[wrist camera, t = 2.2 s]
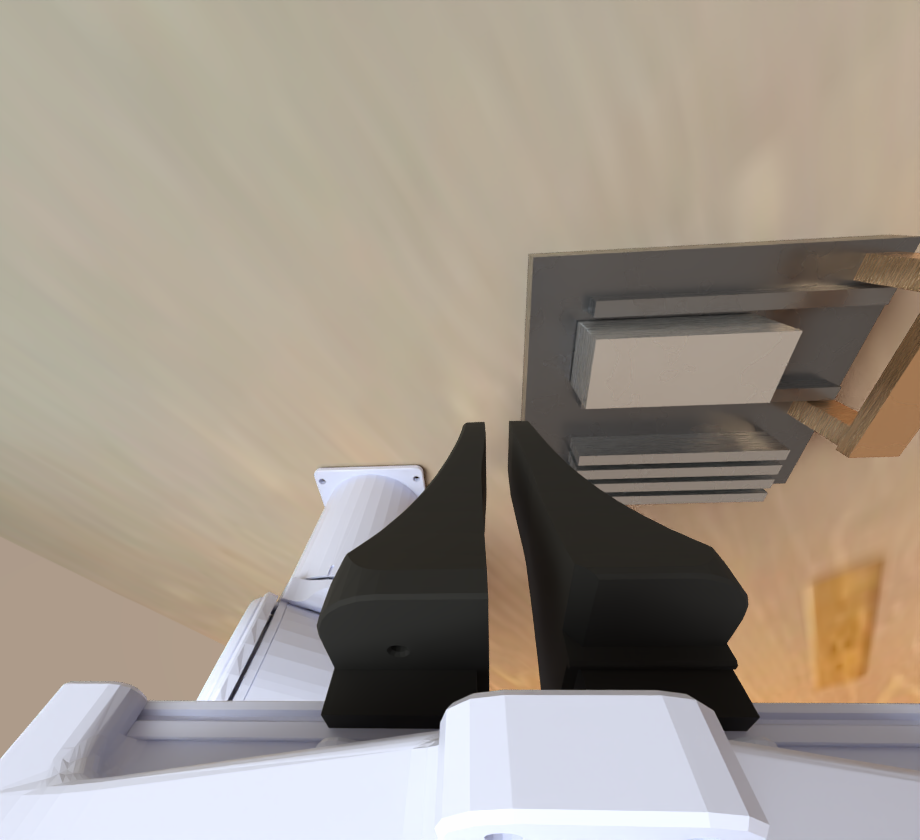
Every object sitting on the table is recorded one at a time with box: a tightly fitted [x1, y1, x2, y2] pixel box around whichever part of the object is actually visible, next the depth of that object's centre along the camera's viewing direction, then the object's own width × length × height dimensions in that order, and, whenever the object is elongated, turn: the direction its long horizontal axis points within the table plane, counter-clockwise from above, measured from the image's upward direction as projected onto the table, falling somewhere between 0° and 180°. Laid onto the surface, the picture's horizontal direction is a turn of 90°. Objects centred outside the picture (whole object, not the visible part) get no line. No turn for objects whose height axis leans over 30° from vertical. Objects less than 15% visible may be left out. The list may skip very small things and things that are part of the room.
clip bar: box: [570, 314, 802, 409], centre depth 18 cm, size 4×9×3 cm, turn 93°
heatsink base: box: [521, 235, 920, 505], centre depth 19 cm, size 15×18×6 cm
